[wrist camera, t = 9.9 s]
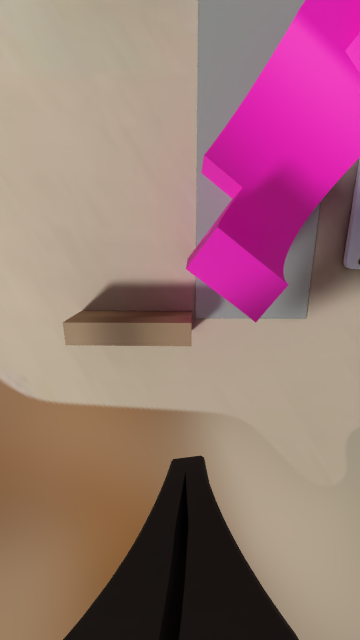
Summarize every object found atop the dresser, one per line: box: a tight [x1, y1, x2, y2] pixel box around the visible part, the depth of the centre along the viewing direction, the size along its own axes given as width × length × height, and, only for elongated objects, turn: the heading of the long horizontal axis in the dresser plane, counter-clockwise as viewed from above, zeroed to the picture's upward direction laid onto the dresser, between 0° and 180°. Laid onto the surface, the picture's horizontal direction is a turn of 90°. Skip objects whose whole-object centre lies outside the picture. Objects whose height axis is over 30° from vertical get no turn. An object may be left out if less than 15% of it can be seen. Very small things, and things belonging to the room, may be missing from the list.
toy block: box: [186, 0, 360, 322], centre depth 13 cm, size 15×6×8 cm, turn 143°
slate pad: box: [195, 0, 321, 319], centre depth 17 cm, size 8×19×1 cm, turn 0°
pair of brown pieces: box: [63, 311, 192, 346], centre depth 16 cm, size 8×21×3 cm, turn 0°
